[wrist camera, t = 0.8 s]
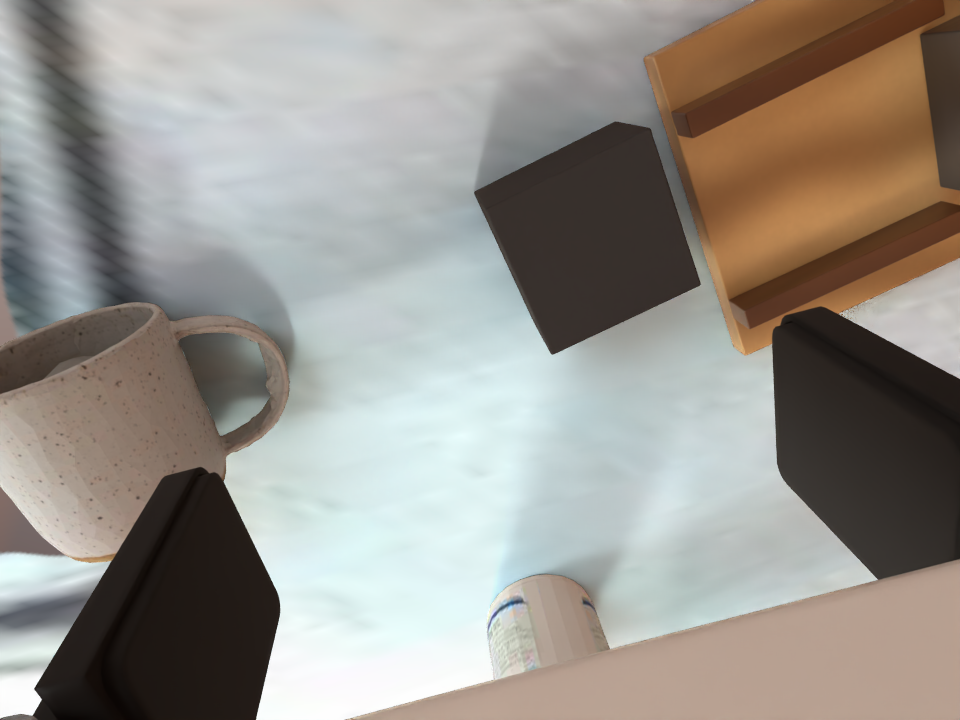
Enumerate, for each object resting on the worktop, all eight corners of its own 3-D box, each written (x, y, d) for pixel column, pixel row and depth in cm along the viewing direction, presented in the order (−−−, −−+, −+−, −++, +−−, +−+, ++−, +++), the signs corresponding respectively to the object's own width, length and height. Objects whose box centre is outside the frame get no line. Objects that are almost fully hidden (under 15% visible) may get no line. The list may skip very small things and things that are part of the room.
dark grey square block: (473, 191, 27) (484, 209, 23) (616, 120, 26) (650, 127, 22) (533, 321, 29) (552, 356, 26) (664, 259, 29) (702, 285, 25)
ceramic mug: (105, 486, 30) (19, 608, 23) (8, 333, 27) (-127, 421, 20) (320, 423, 30) (299, 525, 23) (251, 262, 27) (202, 325, 20)
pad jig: (642, 57, 25) (684, 54, 21) (1111, -179, 24) (1247, -229, 20) (733, 347, 31) (779, 384, 27) (1116, 170, 29) (1222, 184, 26)
